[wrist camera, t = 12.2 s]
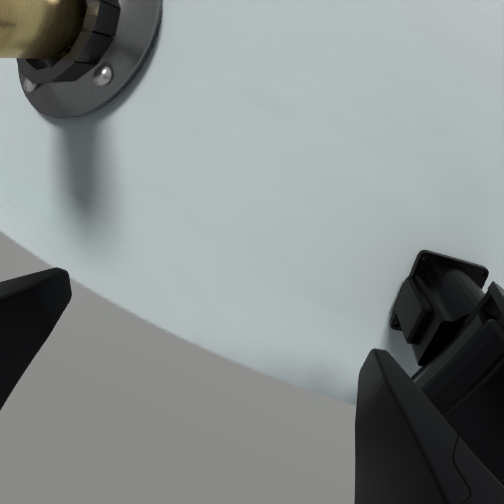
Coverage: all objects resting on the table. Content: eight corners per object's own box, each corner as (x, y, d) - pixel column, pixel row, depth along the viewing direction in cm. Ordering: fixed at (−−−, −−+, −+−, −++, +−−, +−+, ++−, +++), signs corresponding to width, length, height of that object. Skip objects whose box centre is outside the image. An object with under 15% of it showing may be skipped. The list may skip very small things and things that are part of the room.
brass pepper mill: (96, -8, 14) (-68, -46, 1) (103, 42, 16) (-87, 27, 3) (50, 23, 15) (-104, 17, 2) (56, 71, 17) (-113, 88, 4)
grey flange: (181, -56, 13) (160, -77, 10) (144, 119, 19) (116, 122, 16) (44, -21, 14) (18, -28, 11) (18, 118, 20) (-10, 124, 17)
